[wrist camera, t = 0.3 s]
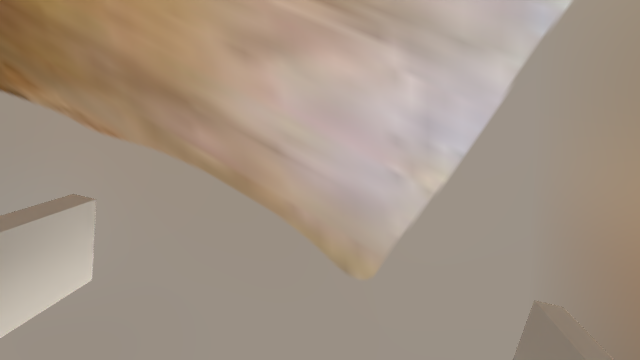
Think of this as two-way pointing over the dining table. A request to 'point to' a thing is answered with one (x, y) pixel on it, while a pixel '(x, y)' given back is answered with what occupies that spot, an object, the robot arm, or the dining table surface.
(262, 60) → the dining table surface
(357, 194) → the dining table surface
